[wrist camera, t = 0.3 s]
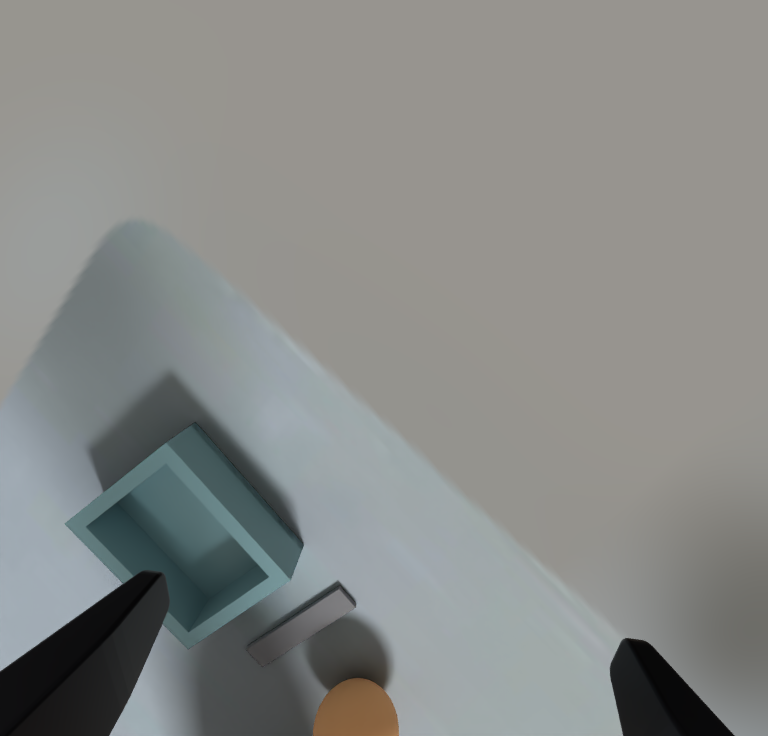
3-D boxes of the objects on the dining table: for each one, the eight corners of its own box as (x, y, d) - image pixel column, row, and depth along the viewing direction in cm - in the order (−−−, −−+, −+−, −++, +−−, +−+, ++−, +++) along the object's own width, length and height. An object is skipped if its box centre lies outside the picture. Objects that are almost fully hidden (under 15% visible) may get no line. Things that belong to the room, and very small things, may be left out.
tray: (211, 608, 27) (187, 649, 24) (103, 495, 25) (64, 523, 22) (303, 544, 25) (290, 579, 22) (195, 422, 24) (166, 442, 21)
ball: (354, 733, 28) (343, 829, 23) (306, 682, 27) (284, 770, 23) (415, 698, 27) (417, 790, 22) (367, 644, 27) (358, 727, 22)
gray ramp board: (264, 663, 27) (262, 667, 27) (247, 645, 27) (245, 649, 27) (356, 603, 26) (355, 607, 26) (339, 585, 26) (339, 588, 25)
